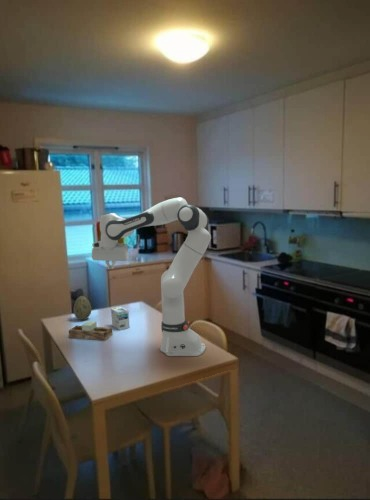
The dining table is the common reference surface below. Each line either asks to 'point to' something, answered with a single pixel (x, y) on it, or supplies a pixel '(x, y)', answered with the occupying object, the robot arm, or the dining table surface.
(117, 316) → the light bulb box
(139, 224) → the robot arm
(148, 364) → the dining table surface
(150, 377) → the dining table surface
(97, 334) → the beam
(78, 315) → the decorative egg
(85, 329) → the block
